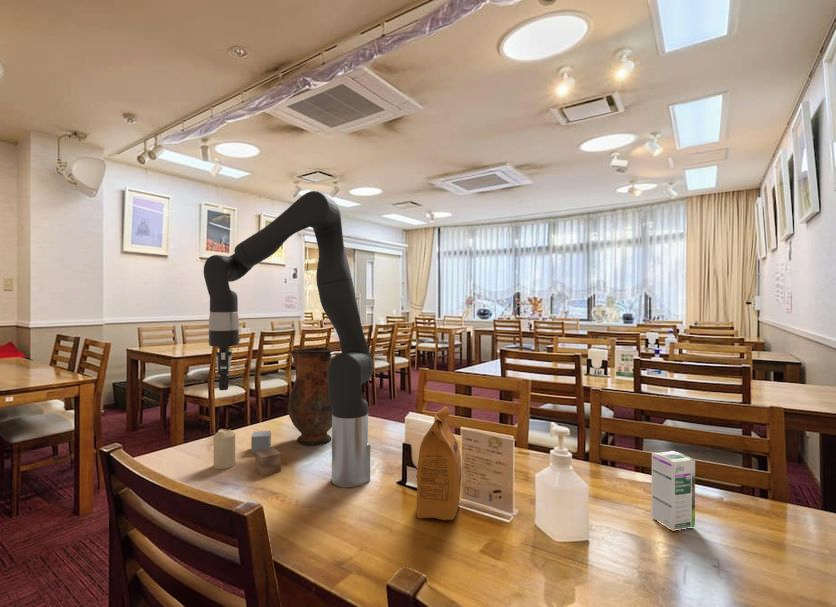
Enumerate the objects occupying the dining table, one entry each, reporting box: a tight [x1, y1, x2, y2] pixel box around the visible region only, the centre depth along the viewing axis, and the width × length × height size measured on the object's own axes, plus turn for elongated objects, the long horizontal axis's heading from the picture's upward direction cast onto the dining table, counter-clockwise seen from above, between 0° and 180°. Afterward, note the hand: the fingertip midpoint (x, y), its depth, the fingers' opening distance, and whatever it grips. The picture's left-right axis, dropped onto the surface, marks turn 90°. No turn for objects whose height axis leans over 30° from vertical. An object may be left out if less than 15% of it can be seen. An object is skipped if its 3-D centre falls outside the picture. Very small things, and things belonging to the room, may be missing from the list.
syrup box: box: [651, 450, 696, 530], centre depth 89 cm, size 6×6×14 cm
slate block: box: [250, 430, 272, 454], centre depth 129 cm, size 5×5×5 cm
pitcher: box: [287, 347, 341, 446], centre depth 137 cm, size 17×21×30 cm
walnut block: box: [255, 447, 282, 477], centre depth 114 cm, size 5×5×5 cm
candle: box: [213, 428, 236, 470], centre depth 117 cm, size 6×6×10 cm
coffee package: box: [415, 406, 462, 521], centre depth 94 cm, size 10×12×22 cm
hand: (224, 386), depth 117 cm, fingers open, 8 cm apart
